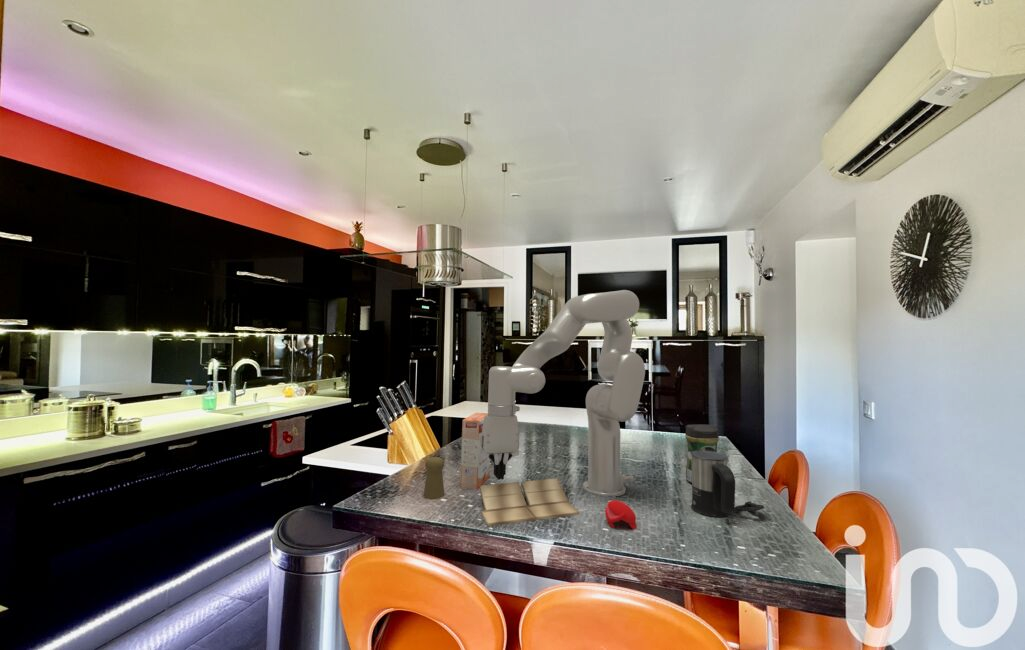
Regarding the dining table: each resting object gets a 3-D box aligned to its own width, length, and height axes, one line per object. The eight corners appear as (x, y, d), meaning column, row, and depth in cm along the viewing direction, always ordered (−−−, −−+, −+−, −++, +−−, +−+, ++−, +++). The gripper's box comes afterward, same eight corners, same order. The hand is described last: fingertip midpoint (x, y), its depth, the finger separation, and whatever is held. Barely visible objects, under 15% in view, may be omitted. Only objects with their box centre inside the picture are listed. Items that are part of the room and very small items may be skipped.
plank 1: (517, 485, 114) (518, 481, 113) (525, 508, 107) (526, 505, 106) (479, 488, 110) (480, 485, 110) (485, 513, 103) (486, 509, 103)
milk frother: (682, 506, 110) (682, 451, 111) (723, 498, 116) (723, 446, 117) (728, 528, 97) (728, 466, 98) (772, 518, 103) (771, 459, 104)
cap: (599, 516, 95) (620, 507, 93) (602, 499, 101) (622, 490, 98) (619, 542, 96) (641, 534, 93) (621, 524, 101) (642, 516, 98)
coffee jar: (710, 478, 133) (710, 422, 134) (723, 487, 125) (723, 427, 126) (681, 478, 133) (681, 422, 134) (693, 487, 125) (692, 427, 126)
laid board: (567, 505, 109) (567, 500, 109) (579, 516, 102) (579, 511, 102) (481, 515, 102) (481, 510, 102) (488, 528, 95) (488, 522, 95)
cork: (448, 495, 115) (449, 456, 116) (436, 502, 110) (437, 462, 110) (431, 491, 118) (432, 453, 118) (418, 499, 112) (419, 459, 113)
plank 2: (556, 481, 117) (557, 478, 117) (567, 503, 110) (568, 500, 110) (521, 484, 114) (521, 481, 113) (529, 508, 107) (530, 504, 107)
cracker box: (479, 492, 118) (480, 420, 119) (459, 490, 120) (460, 419, 120) (491, 476, 132) (492, 412, 133) (473, 475, 133) (474, 411, 134)
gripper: (522, 408, 117) (520, 471, 117) (472, 409, 113) (470, 475, 112) (531, 412, 110) (529, 480, 109) (478, 413, 106) (475, 484, 105)
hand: (499, 477), depth 111 cm, fingers closed
